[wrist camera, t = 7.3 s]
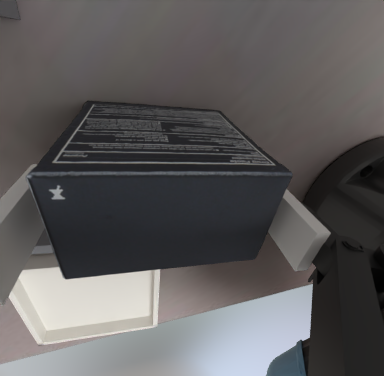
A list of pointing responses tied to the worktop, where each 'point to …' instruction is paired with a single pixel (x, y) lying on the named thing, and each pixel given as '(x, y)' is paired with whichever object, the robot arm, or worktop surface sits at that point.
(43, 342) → the tray
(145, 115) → the small box
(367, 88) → the worktop surface
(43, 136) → the worktop surface
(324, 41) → the worktop surface
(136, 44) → the worktop surface
